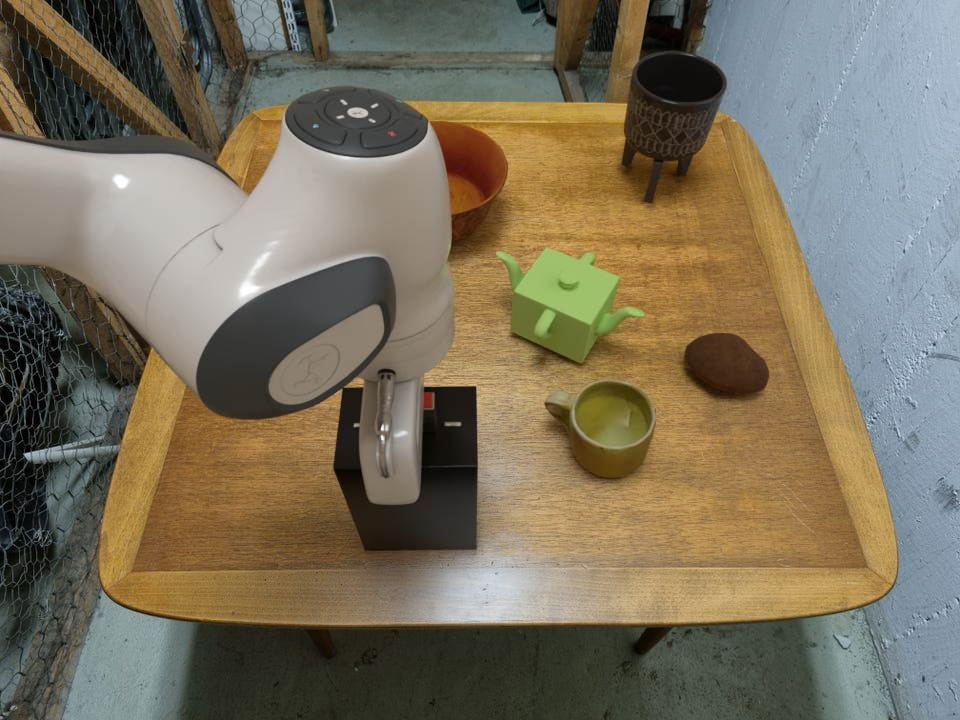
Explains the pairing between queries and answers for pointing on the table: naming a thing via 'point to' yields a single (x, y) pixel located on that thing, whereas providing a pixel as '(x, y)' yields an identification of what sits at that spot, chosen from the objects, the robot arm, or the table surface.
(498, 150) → the bowl
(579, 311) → the teapot
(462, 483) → the black lever box
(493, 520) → the table surface
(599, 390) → the mug
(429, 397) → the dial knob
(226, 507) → the table surface
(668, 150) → the planter
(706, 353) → the potato
